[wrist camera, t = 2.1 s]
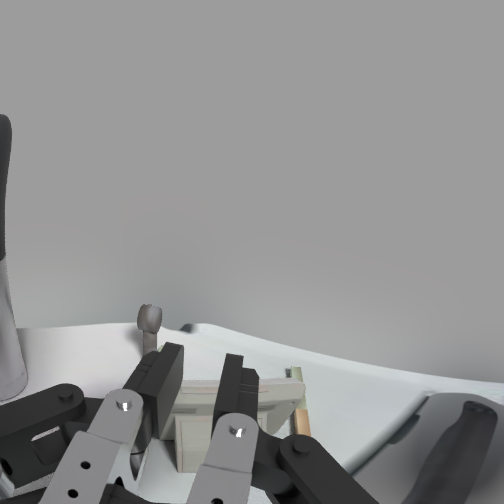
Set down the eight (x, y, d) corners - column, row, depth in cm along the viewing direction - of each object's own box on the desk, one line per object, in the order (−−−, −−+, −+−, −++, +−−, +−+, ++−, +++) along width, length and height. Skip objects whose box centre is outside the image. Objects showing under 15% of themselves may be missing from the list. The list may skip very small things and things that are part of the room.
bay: (94, 432, 26) (79, 367, 23) (148, 348, 45) (148, 294, 43) (312, 473, 25) (340, 415, 23) (298, 373, 45) (312, 320, 43)
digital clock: (280, 424, 33) (299, 357, 31) (290, 480, 24) (318, 414, 22) (149, 410, 32) (146, 340, 29) (133, 464, 23) (120, 393, 21)
